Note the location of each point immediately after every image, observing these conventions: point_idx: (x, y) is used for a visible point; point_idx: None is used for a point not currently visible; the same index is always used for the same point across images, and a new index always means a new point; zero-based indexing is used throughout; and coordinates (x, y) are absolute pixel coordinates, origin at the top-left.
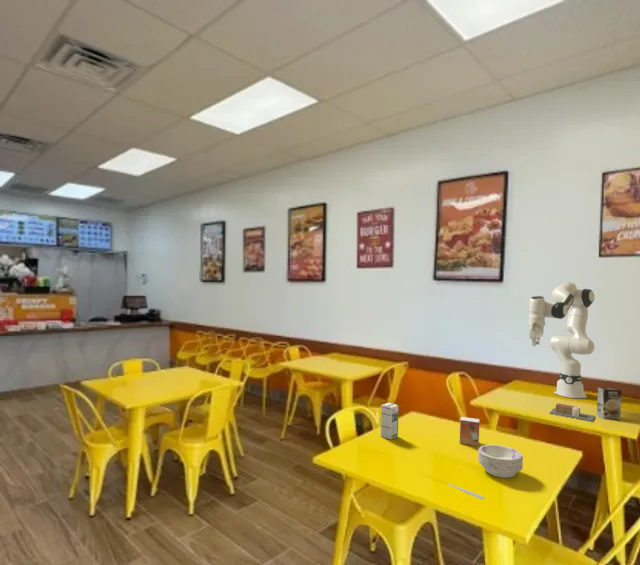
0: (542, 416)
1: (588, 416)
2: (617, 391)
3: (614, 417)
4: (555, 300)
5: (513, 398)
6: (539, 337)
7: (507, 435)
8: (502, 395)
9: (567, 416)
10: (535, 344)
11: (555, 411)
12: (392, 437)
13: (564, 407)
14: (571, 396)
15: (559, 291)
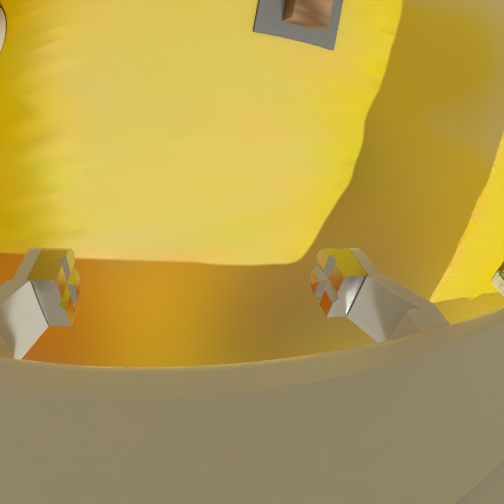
0: (375, 76)
1: None
2: None
3: None
4: None
5: (174, 184)
6: (171, 367)
7: (496, 161)
8: (157, 226)
9: (341, 2)
10: (368, 261)
11: (305, 29)
12: (502, 271)
13: (331, 2)
14: (2, 23)
15: None
